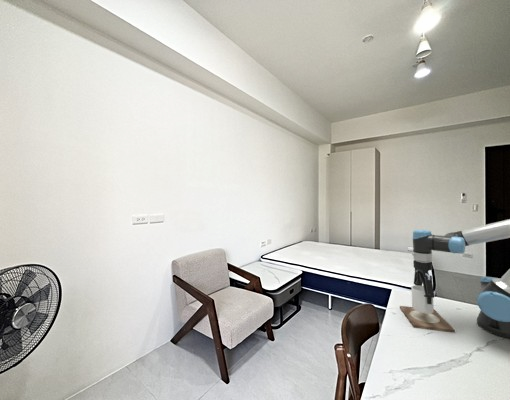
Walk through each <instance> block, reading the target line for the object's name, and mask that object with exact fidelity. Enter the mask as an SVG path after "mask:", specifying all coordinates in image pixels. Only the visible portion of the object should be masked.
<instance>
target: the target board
mask: <svg viewBox="0 0 510 400" xmlns="http://www.w3.org/2000/svg"><path fill="white" fill-rule="evenodd" d="M399 309H400V310H401V312H402V313H403V314H404V316H405V317H406V319H407V320H408V322H409V323H410V325H411V326H412V327H413V329H415V328H416V329H424V330H430V331H438V332H439V331H440V332H447V333H454V334H455V333H456V330H455V329H454V327H453V326H452V325H451V324H449V322H448V321H447V320H446V319H444V318H443V316H441V314H440V313H439V312H437V311H436V310H435V309H434V311H433V313H431V314H425V313H420V312H418V311H416V310H414V309H413V307H412V306H405V305H399Z"/></svg>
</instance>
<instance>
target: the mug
mask: <svg viewBox="0 0 510 400" xmlns="http://www.w3.org/2000/svg"><path fill="white" fill-rule="evenodd" d="M424 295H425V291H424V286H423V285H422V286H418V285H415V284H414V285H412V286H411V307H413V309H414V310H416V311H418V312H420V313H425V314H431V313H433V311H434V310H435V309H434V298H432V311H430V310H425V297H424ZM429 295H430V294H429Z"/></svg>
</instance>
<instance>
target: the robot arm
mask: <svg viewBox="0 0 510 400" xmlns="http://www.w3.org/2000/svg"><path fill="white" fill-rule="evenodd" d="M509 238H510V218H509V219H508V218H507V219H504V220H501V221H496V222H491V223H487V224H483V225H479V226H475V227H470V228H466V229H462V230H458V231H454V232H453V231H452V232H448V233H446V234H445V235H437V234H436V235H435V234H432V231H431V230H427V229H415V230H413V231H412V248H413V249H412V252H413V253H412V255H411V256H412V257H413V268H414V275H413V276H414V277H413V278H414V279H413V285H414V286H415V285H418V286H424V291H425V295H424V297H425V310H430V311H432V298H433V299H434V298H435V291H434V283H433V276H432V275H431V274H430V273H429V271H431V270H433V263H432V262H433V253H432V252H433V251H437V252H442V253H443V252H444V253H452V254H464V253H466V247H469V246H472V245H473V246H474V245H478V244H483V243H489V242H495V241H499V240H505V239H509ZM479 283H480V290H479V293H478V295H477V297H476V304H477V307H478V308H479V309H480V310H479V313H478V316H477V318H476V325H477V326H478V327H479V328H480V329H482V330H484V331H486V332H488V333H490V334H493V335H495V336H499V337H501V338H506V339H510V268H509V269H508V270H507V271H506V272H505V273H504V274H503V275H502V276H501V278H498V277H494V276H493V277H492V276H482V277H480V281H479ZM429 294H430V295H429Z"/></svg>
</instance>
